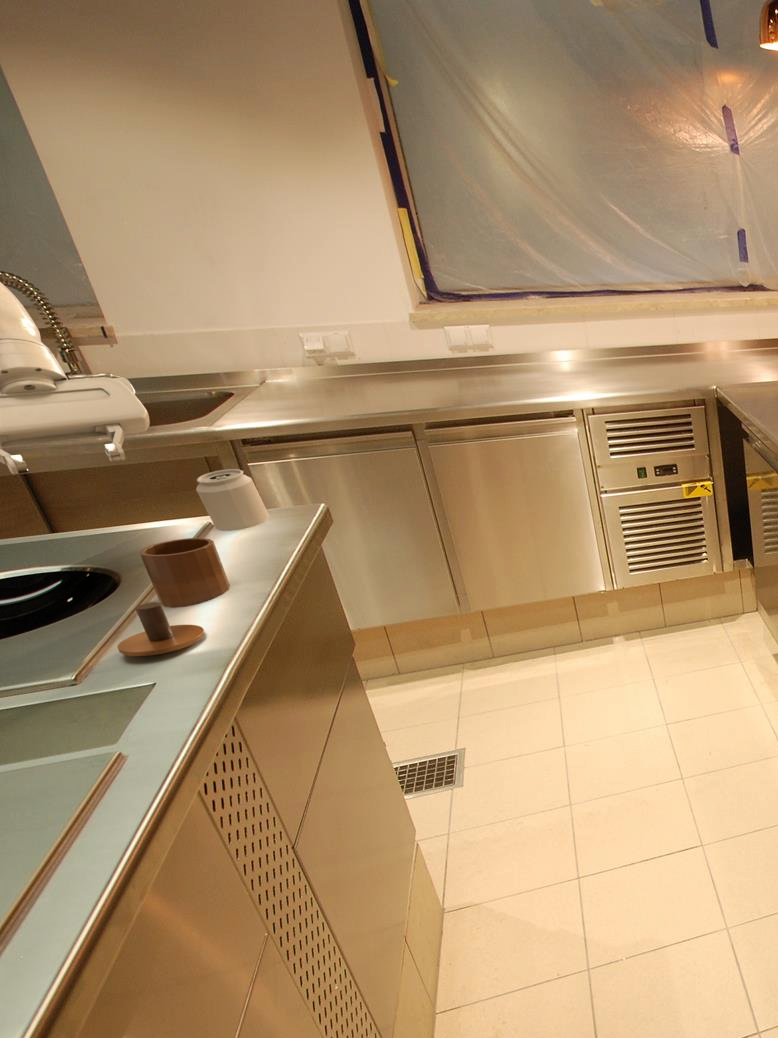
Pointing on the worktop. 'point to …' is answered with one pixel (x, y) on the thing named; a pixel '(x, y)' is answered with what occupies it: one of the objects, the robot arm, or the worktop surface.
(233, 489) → the can
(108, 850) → the worktop surface
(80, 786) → the worktop surface
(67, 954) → the worktop surface
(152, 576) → the wooden cylinder
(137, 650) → the basket lid
